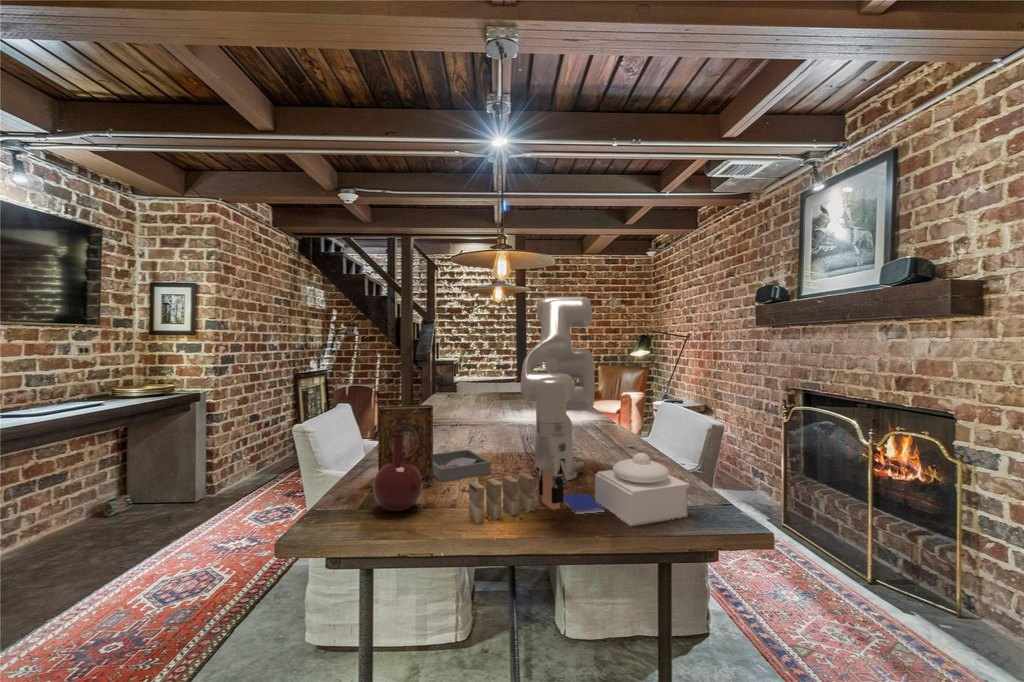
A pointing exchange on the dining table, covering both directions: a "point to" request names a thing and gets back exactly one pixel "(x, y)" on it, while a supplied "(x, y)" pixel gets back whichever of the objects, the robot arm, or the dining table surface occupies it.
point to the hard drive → (582, 503)
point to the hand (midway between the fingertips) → (551, 497)
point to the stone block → (460, 462)
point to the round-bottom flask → (398, 481)
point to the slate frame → (459, 471)
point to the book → (408, 437)
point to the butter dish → (641, 491)
